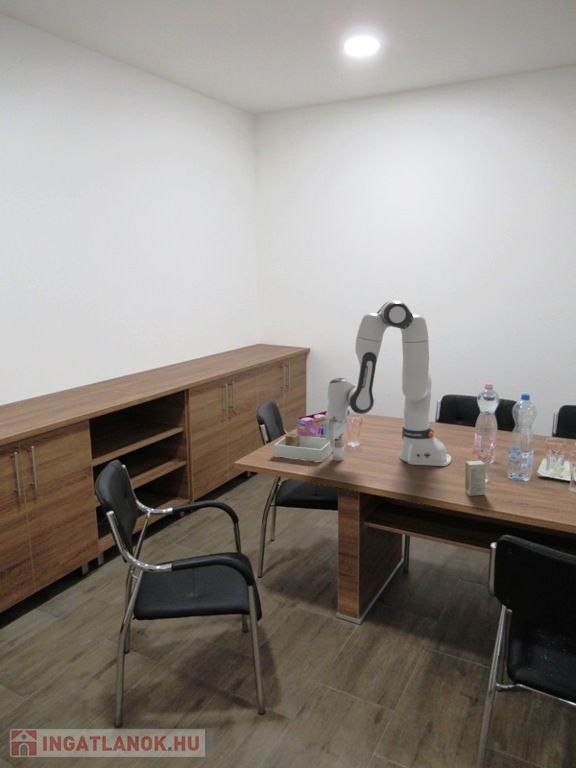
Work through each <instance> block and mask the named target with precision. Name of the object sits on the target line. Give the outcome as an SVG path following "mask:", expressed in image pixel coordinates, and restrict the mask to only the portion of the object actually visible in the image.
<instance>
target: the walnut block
mask: <svg viewBox="0 0 576 768" xmlns="http://www.w3.org/2000/svg"><path fill="white" fill-rule="evenodd" d="M284 437H285V446H294V447H300V445H299V434H297V433H292V432H291V433H288V434H286V435H285V436H284Z"/></svg>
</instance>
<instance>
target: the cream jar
mask: <svg viewBox="0 0 576 768" xmlns="http://www.w3.org/2000/svg"><path fill="white" fill-rule="evenodd" d="M335 443H336V445H335V447H334V448H333V453H332V460H333V459H335V460H342V461H344V460H345V443H344V442H342V441H341V442H339V441H337V442H336V441H335ZM343 459H344V460H343ZM335 460H334V461H335Z"/></svg>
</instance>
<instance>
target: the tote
mask: <svg viewBox="0 0 576 768" xmlns="http://www.w3.org/2000/svg"><path fill="white" fill-rule="evenodd" d="M299 445H300V447H294V446H285V436H284V437H283V438H281V439H280V440H279V441H276V443H274V444H273V456H274V455H277V456H284V457H291V458H299V459H305V460H311V461H319V462H322V461H323V460H324V459H325V458H326V457H327V456H328V455H329V454H331V453H332V452H333V448H331V444H330V440H326V438H318V437H309V436H299ZM332 454H333V453H332ZM332 454H331V455H332ZM328 457H329V456H328ZM328 457H327V458H328ZM327 458H326V459H327ZM326 459H325V460H326ZM325 460H324V461H325ZM324 461H323V462H324ZM323 462H322V463H323Z"/></svg>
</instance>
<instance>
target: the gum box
mask: <svg viewBox="0 0 576 768" xmlns="http://www.w3.org/2000/svg"><path fill="white" fill-rule="evenodd" d="M328 422H329V419H328V418H327V410H325V411H322V412H316V413H313V414H307V415H304V416H300V417H297V418H296V434H299V436H309V437H318V438H326V425H327V423H328ZM337 438H338V437H337ZM337 438H335V439H336V440H338V439H337Z"/></svg>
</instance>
